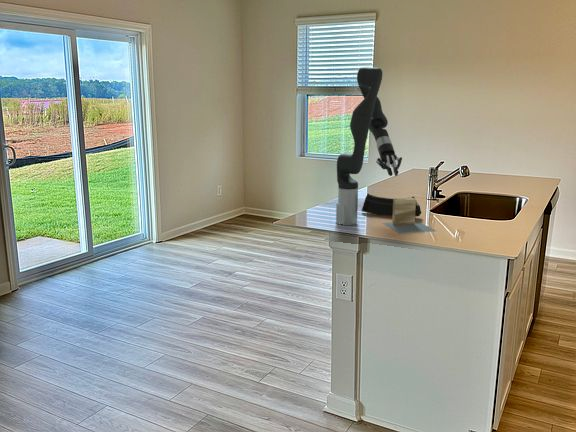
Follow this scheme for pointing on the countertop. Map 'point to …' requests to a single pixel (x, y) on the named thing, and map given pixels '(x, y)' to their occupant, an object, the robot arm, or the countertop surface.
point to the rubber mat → (409, 228)
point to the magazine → (382, 206)
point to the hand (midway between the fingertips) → (394, 174)
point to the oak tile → (404, 211)
